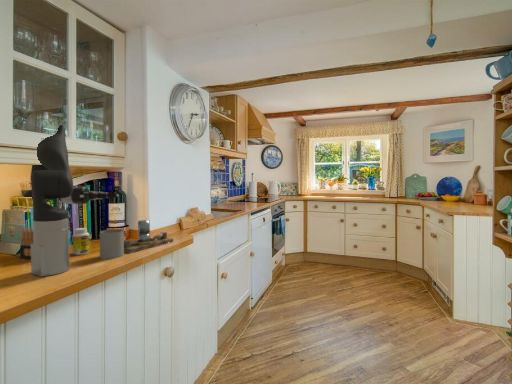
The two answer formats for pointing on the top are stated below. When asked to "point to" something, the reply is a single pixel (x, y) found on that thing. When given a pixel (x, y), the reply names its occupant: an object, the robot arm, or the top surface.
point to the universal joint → (144, 231)
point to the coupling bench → (146, 243)
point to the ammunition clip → (26, 243)
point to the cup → (111, 243)
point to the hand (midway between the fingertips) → (111, 195)
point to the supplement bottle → (80, 241)
